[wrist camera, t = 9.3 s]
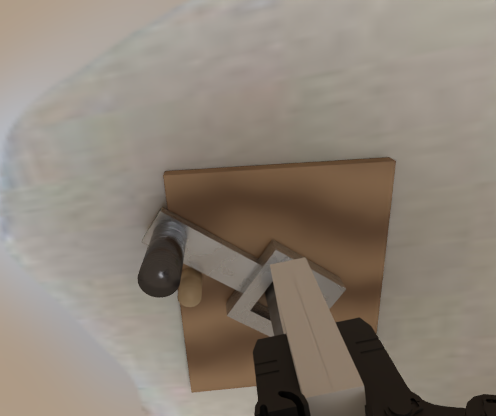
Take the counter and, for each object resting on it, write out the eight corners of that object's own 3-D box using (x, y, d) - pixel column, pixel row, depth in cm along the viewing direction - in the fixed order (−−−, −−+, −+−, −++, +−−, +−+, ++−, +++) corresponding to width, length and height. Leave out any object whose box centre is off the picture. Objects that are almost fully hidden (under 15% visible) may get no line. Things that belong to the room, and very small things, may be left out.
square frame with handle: (339, 277, 32) (371, 331, 26) (291, 335, 34) (310, 398, 28) (175, 184, 28) (164, 222, 22) (131, 256, 30) (108, 311, 23)
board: (367, 365, 38) (404, 438, 31) (192, 382, 37) (187, 462, 30) (389, 157, 30) (446, 189, 23) (165, 171, 29) (148, 209, 21)
